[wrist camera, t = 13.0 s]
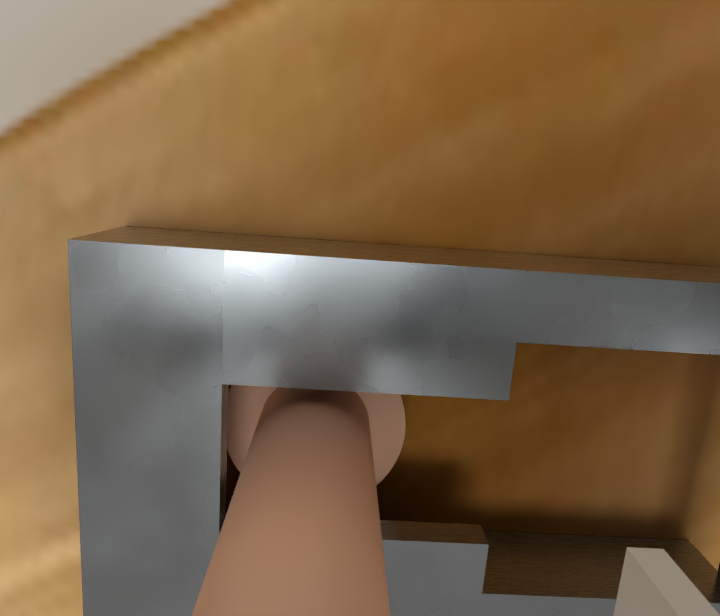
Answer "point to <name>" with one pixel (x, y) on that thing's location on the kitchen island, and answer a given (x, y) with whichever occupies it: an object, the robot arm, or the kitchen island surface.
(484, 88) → the kitchen island surface
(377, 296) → the keyhole plate
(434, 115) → the kitchen island surface
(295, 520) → the terracotta peg
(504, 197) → the kitchen island surface
